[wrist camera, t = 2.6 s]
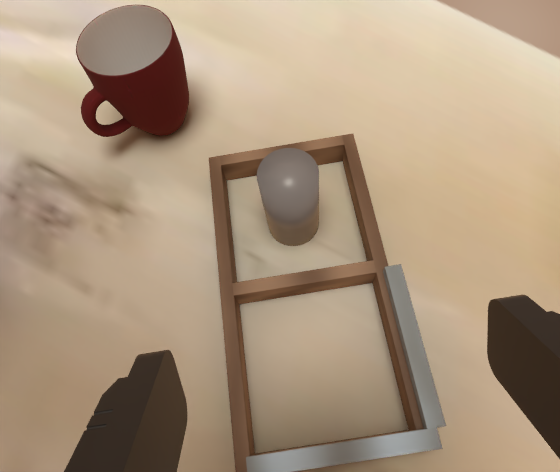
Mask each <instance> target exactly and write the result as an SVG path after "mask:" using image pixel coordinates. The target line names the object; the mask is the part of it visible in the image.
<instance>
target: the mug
mask: <svg viewBox="0 0 560 472" xmlns="http://www.w3.org/2000/svg"><path fill="white" fill-rule="evenodd" d="M76 53H77V57H78V60H79V62H80V64H81V65H82V67H83V69H84V70H85V72H86V74H87V75H88V77H89V79H90V80H91V82H92V84H93V86H94V88H93V89H92V90H91V91H89V92H88V93H87V94H86V95H85V97H84V99H83V101H82V105H81V114H82V118H83V120H84V123H85V124H86V125H87V127H88V128H89V129H90V130H91V131H93V132H94V133H95V134H97V135H100V136H103V137H110V136H115V135H118V134H120V133H122V132H124V131H125V130H127V129H128V128H130V127H131V126H134V127H136V128H139V129H141V130H144V131H146V132H149V133H152V134H154V135H159V136H164V135H169V134H171V133H173V132H175V131H177V130H178V129H179V128H180V127H181V125H182V124H183V122H184V119H185V115H186V112H187V109H188V103H189V91H188V85H187V78H186V72H185V65H184V59H183V54H182V50H181V46H180V43H179V41H178V38H177V35H176V33H175V30H174V28H173V25H172V23H171V21H170V19H169V18H168V17H167V16H166V15H165V14H164V13H163V12H161V11H160V10H158V9H156V8H153V7H150V6H145V5H127V6H122V7H118V8H115V9H112V10H109V11H107V12H105V13H103V14H101V15H100V16H98V17H97V18H95V19H94V20H93V21H91V22H90V23H89V24H88V25H87V26H86V27H85V29H84V30H83V31H82V33H81V34H80V36H79V39H78V41H77V46H76ZM105 100H107V101H108V102H110V103H111V104H112V105H113V106H114V107H115V108H116V109H117V110H118V111H119V112H120V114H121V115H122V116H123V119H121V120H119V121H118V122H115V123H113V124H110V125H101V124H99V123H98V122H97V120H96V110H97V108H98V106H99V105H100V104H101V103H102V102H104V101H105Z"/></svg>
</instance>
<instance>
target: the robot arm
mask: <svg viewBox="0 0 560 472" xmlns="http://www.w3.org/2000/svg"><path fill="white" fill-rule="evenodd" d="M487 354H488V360H489V364H490V367H491V369H492V371H493V373H494V375H495V377H496V378H497V380H498V381H499V382H500V383H501V385H502V386H503V387H504V389H505V390H506V391H507V392H508V394H509V395H510V396H511V397H512V399H513V400H514V401H515V403H516V404H517V405H518V406H519V408H520V409H521V410H522V411H523V413H524V414H525V415H526V417H527V418H528V419H529V420H530V422H531V423H532V424H533V426H534V427H535V428H536V429H537V431H538V432H539V433H540V434H541V436H542V437H543V438H544V440H545V441H546V442H547V443H548V445H549V446H550V447H551V449H552V450H553V451H554V452H555V454H556V455H557V456H558V457H559V459H560V314H558V313H555V312H553V311H550V312H546V311H545V310H544V309H542V308H541V307H540V306H539V305H538V304H536V303H535V302H534V301H533V300H531V299H530V298H529V297H528V296H526V295H517V296H511V297H505V298H498V299H493V300H491V301H490V303H489V306H488V342H487ZM186 425H187V404H186V398H185V395H184V391H183V388H182V385H181V381H180V378H179V375H178V371H177V368H176V364H175V361H174V358H173V355H172V353H171V352H170V351H169V350H165V351H158V352H152V353H146V354H139V355H138V356H137V357H136V359H135V362H134V364H133V366H132V368H131V371H130V373H129V375H128V377H125V378H119V379H118V380H117V381H116V382H115V383H114V384H113V385H112V386H111V387H110V388H109V389H108V390H107V391H106V392H105V393H104V394H103V395H102V397H101V399H100V401H99V403H98V405H97V407H96V409H95V411H94V416H92V417H91V419H90V421H89V423H88V425H87V430H86V431H84V433H83V435H82V437H81V439H80V441H79V443H78V445H77V447H76V449H75V451H74V453H73V455H72V457H71V459H70V461H69V463H68V465H67V467H66V469H65V471H64V472H177V467H178V463H179V458H180V453H181V449H182V444H183V439H184V435H185V430H186Z"/></svg>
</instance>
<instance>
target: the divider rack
mask: <svg viewBox="0 0 560 472" xmlns="http://www.w3.org/2000/svg"><path fill="white" fill-rule="evenodd" d="M282 148H296V149H300V150H303V151H305V152H306V153H308V154H309V155H310V156H312V157H313V159H314V160H315V161H316V163H317V165H321V164H327V163H333V162H339V161H343V164H344V168H345V172H346V176H347V180H348V184H349V188H350V192H351V197H352V201H353V205H354V209H355V213H356V217H357V221H358V225H359V229H360V233H361V237H362V241H363V245H364V250H365V254H366V258H367V261H366V262H359V263H353V264H347V265H341V266H335V267H329V268H323V269H316V270H310V271H304V272H298V273H292V274H286V275H280V276H273V277H267V278H261V279H255V280H249V281H243V282H237V277H236V268H235V258H234V249H233V239H232V229H231V220H230V210H229V201H228V191H227V182H226V180H231V179H237V178H243V177H249V176H255V175H257V170H258V167H259V165H260V163H261V161H262V160H263V159H264V158H265V157H266V156H267V155H268V154H270V153H271V152H273V151H276V150H278V149H282ZM209 166H210V178H211V189H212V201H213V212H214V224H215V236H216V247H217V259H218V270H219V282H220V294H221V305H222V317H223V329H224V340H225V352H226V363H227V375H228V387H229V398H230V410H231V422H232V433H233V445H234V456H235V468H236V472H295V471H301V470H308V469H314V468H321V467H327V466H334V465H340V464H347V463H353V462H360V461H366V460H372V459H379V458H385V457H392V456H398V455H405V454H411V453H418V452H424V451H431V450H437V449H442V445H441V441H440V437H439V434H438V430H437V427H443V426H446V423H445V420H444V416H443V413H442V409H441V405H440V402H439V398H438V395H437V391H436V388H435V384H434V380H433V377H432V373H431V370H430V366H429V363H428V359H427V355H426V352H425V348H424V345H423V341H422V338H421V334H420V330H419V327H418V323H417V320H416V316H415V313H414V309H413V305H412V302H411V298H410V295H409V291H408V288H407V284H406V280H405V277H404V273H403V270H402V266H401V264H399V265H393V266H388V263H387V259H386V255H385V252H384V248H383V244H382V240H381V237H380V233H379V229H378V225H377V222H376V218H375V214H374V210H373V207H372V203H371V199H370V195H369V191H368V188H367V184H366V180H365V176H364V173H363V169H362V165H361V161H360V158H359V154H358V150H357V146H356V143H355V139H354V135H353V134H348V135H342V136H336V137H330V138H324V139H318V140H312V141H306V142H300V143H294V144H288V145H282V146H276V147H270V148H264V149H258V150H252V151H246V152H241V153H235V154H229V155H223V156H217V157H211V158H209ZM367 283H373V286H374V290H375V294H376V298H377V303H378V307H379V311H380V315H381V319H382V323H383V327H384V331H385V335H386V339H387V343H388V347H389V351H390V356H391V360H392V364H393V368H394V372H395V376H396V380H397V384H398V388H399V392H400V396H401V400H402V405H403V409H404V413H405V417H406V421H407V425H408V429H409V430H405V431H398V432H392V433H385V434H379V435H373V436H366V437H360V438H353V439H347V440H340V441H334V442H328V443H321V444H315V445H308V446H302V447H296V448H289V449H283V450H276V451H270V452H263V453H257V454H255V450H254V441H253V431H252V421H251V412H250V402H249V393H248V383H247V373H246V364H245V354H244V345H243V335H242V325H241V316H240V306H239V304H243V303H249V302H256V301H262V300H268V299H274V298H280V297H286V296H293V295H299V294H305V293H311V292H317V291H323V290H330V289H336V288H342V287H348V286H354V285H361V284H367Z"/></svg>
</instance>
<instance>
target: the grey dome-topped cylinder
mask: <svg viewBox="0 0 560 472" xmlns="http://www.w3.org/2000/svg"><path fill="white" fill-rule="evenodd" d="M257 181H258V185H259V189H260V193H261V197H262V201H263V206H264V210H265V214H266V218H267V222H268V226H269V230H270V233H271V234H272V236H273V237H274V238H275V239H276V240H277V241H278V242H280V243H282V244H284V245H288V246H298V245H302V244H304V243H306V242H308V241H309V240H311V239H312V238H313V237H314V235H315V234H316V232H317V229H318V225H319V170H318V166H317V163H316V161H315V160H314V159H313V157H312V156H310V155H309V154H308V153H306V152H305V151H303V150H300V149H296V148H282V149H278V150H276V151H273V152H271V153H270V154H268V155H267V156H266V157H265V158H264V159H263V160H262V161H261V163H260V165H259V167H258V170H257Z"/></svg>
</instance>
